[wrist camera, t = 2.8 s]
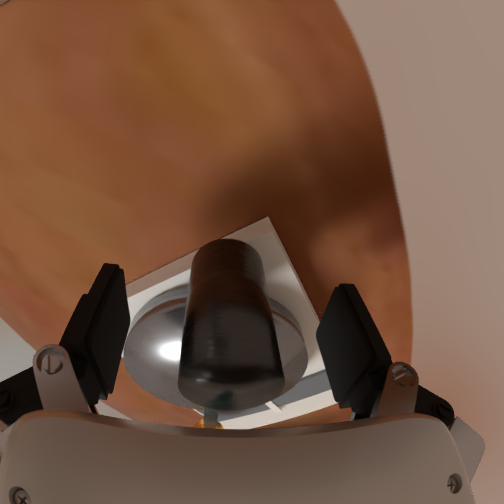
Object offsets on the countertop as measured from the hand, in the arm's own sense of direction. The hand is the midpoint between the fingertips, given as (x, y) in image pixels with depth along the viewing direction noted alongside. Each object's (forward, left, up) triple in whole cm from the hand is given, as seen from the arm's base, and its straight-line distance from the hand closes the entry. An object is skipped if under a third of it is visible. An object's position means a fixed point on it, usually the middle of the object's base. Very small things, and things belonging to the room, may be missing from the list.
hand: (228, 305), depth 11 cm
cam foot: (+7, 0, -3) cm, 8 cm away
